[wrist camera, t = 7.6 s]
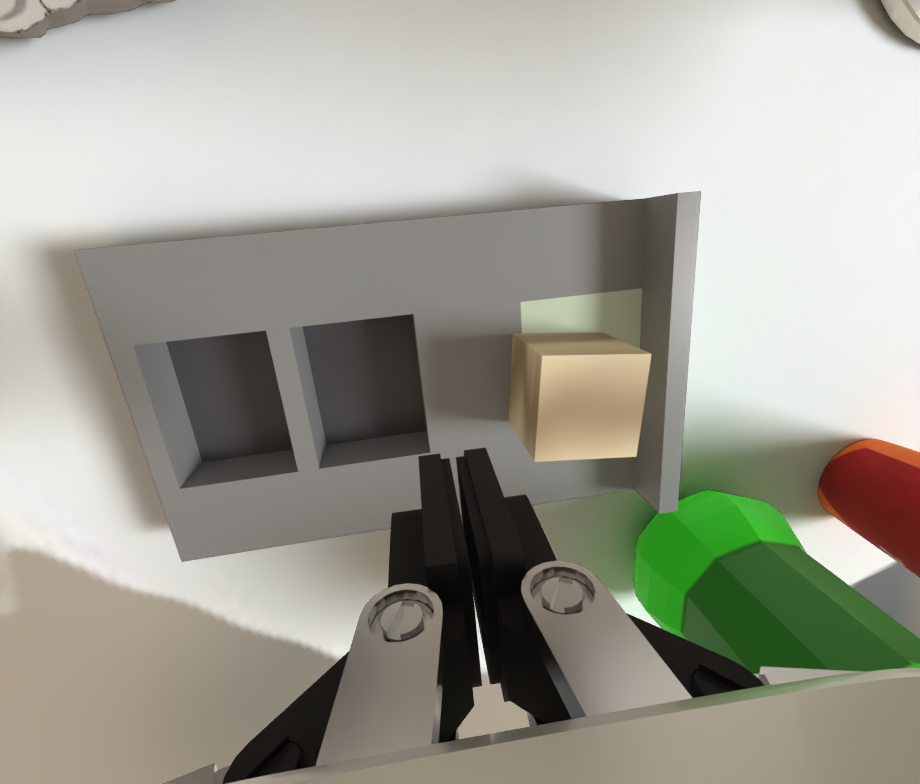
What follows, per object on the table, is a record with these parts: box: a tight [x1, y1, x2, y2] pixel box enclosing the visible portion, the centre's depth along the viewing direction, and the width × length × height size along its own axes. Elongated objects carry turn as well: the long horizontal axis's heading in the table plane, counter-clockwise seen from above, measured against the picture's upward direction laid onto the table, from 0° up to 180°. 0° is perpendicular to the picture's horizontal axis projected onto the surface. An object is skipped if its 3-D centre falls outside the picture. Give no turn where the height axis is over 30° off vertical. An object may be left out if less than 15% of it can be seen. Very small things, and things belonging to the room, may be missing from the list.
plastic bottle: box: [633, 490, 920, 674], centre depth 19 cm, size 10×10×25 cm
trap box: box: [74, 191, 701, 562], centre depth 22 cm, size 15×25×6 cm, turn 95°
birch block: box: [508, 332, 652, 462], centre depth 21 cm, size 4×4×4 cm
